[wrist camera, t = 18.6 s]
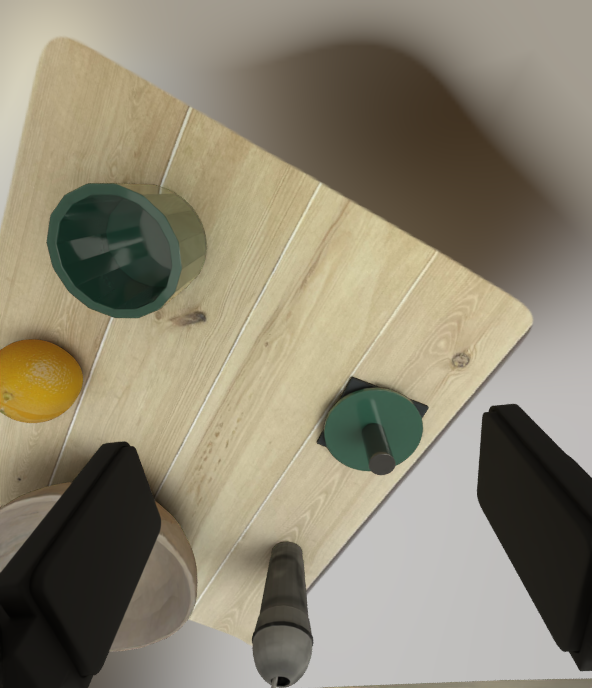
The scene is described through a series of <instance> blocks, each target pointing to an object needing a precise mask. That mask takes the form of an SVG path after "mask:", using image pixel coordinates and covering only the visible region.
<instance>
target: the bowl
mask: <svg viewBox="0 0 592 688" xmlns="http://www.w3.org/2000/svg"><path fill="white" fill-rule="evenodd" d="M71 483H72V482H68V483H61V484H56V485H52V486H48V487H44V488H41V489H37V490H35V491H32V492H29V493H27V494H24V495H22V496H19V497H17V498H16V499H14V500H12V501H10V502H9V503H7V504H5V505H4V506H2V507H0V572H1V571H2V570H3V569H4V567H5V566H6V565H7V564H8V562H9V561H10V560H11V559H12V557H13V556H14V555H15V554H16V552H17V551H18V550H19V549H20V547H21V546H22V545H23V544H24V542H25V541H26V540H27V539H28V537H29V536H30V535H31V534H32V532H33V531H34V530H35V528H36V527H37V526H38V525H39V523H40V522H41V521H42V520H43V518H44V517H45V516H46V515H47V513H48V512H49V511H50V510H51V508H52V507H53V506H54V505H55V503H56V502H57V501H58V500H59V498H60V497H61V496H62V495H63V493H64V492H65V491H66V489H67V488H68V487H69V486H70V484H71ZM155 503H156V506H157V508H158V511H159V514H160V517H161V530H160V533H159V535H158V537H157V540H156V542H155V544H154V547H153V549H152V552H151V554H150V556H149V559H148V561H147V563H146V566H145V568H144V570H143V573H142V575H141V577H140V580H139V582H138V585H137V587H136V589H135V592H134V594H133V596H132V599H131V601H130V603H129V606H128V608H127V610H126V613H125V615H124V618H123V620H122V622H121V625H120V627H119V629H118V632H117V634H116V636H115V639H114V641H113V643H112V646H111V648H110V650H109V652H114V651H124V650H131V649H137V648H142V647H145V646H147V645H150V644H153V643H156V642H158V641H160V640H163V639H166V638H168V637H169V636H171V635H172V634H174V633H175V632H176V631H178V630H179V629H180V628H181V627H182V626H183V625H184V623H185V622H186V621H187V620H188V619H189V617H190V616H191V614H192V611H193V609H194V606H195V603H196V597H197V567H196V562H195V558H194V554H193V551H192V548H191V546H190V544H189V542H188V540H187V538H186V536H185V534H184V532H183V530H182V528H181V527H180V525H179V524H178V522H177V521H176V520H175V519H174V517H173V516H172V515H171V514H170V513H169V512H168V511H167V510H165V509H164V508H163V507H162V506H161V505H160V504H159V503H157V502H156V501H155Z"/></svg>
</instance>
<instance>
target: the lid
mask: <svg viewBox="0 0 592 688" xmlns="http://www.w3.org/2000/svg"><path fill="white" fill-rule="evenodd" d="M422 432H423V423H422V419H421V416H420V413H419V411H418V409H417V408H416V406H415V405H414V404H413V403H412V401H411V400H409V399H408V398H407V397H406V396H404V395H402V394H401V393H399V392H396V391H394V390H390V389H386V388H366V389H361V390H358V391H355V392H352V393H350V394H348V395H346V396H345V397H343V398H342V399H340V400H339V401H338V402H337V403H336V404H335V405H334V406H333V407H332V409H331V410H330V412H329V413H328V416H327V418H326V421H325V425H324V438H325V442H326V445H327V447H328V449H329V451H330V452H331V454H332V455H333V456H334V457H335V458H336V459H337V460H338V461H339V462H341V463H342V464H344V465H346V466H348V467H350V468H353V469H356V470H362V471H372V472H373V473H374V474H377V475H385V474H388V473H390V472H391V471H393V469H394V468H395V466H396V465H398V464H400V463H401V462H403V461H405V460H406V459H407V458H408V457H409V456H410V455H411V454H412V453H413V452H414V451H415V450H416V448H417V446H418V445H419V443H420V440H421V437H422Z"/></svg>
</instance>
